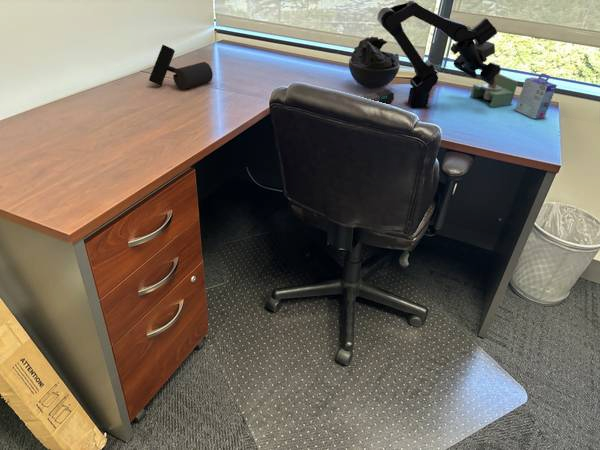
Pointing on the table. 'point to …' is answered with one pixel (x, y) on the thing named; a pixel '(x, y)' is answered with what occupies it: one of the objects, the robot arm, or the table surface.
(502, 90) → the rack
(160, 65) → the track light
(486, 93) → the cylinder on round base
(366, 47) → the bowl of black rocks
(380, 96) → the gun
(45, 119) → the table surface
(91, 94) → the table surface
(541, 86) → the ink cartridge box
